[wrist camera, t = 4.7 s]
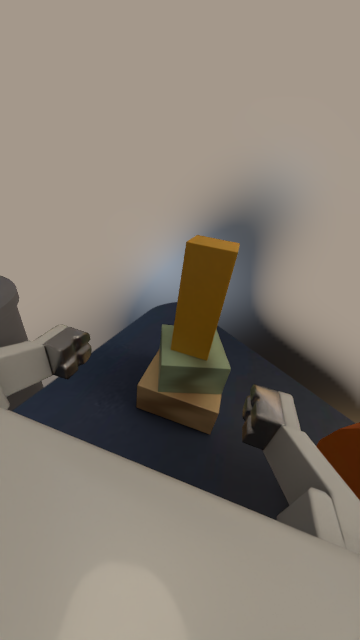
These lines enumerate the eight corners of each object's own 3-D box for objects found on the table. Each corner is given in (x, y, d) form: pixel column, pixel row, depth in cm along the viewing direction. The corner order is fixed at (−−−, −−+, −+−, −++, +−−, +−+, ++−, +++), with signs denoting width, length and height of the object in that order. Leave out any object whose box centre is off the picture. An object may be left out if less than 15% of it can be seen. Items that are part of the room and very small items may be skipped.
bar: (170, 349, 21) (186, 241, 16) (180, 330, 25) (197, 234, 19) (207, 361, 21) (238, 252, 15) (212, 339, 24) (239, 243, 18)
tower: (136, 407, 24) (138, 357, 20) (162, 359, 31) (168, 315, 27) (210, 434, 22) (229, 387, 18) (219, 377, 30) (234, 333, 26)
